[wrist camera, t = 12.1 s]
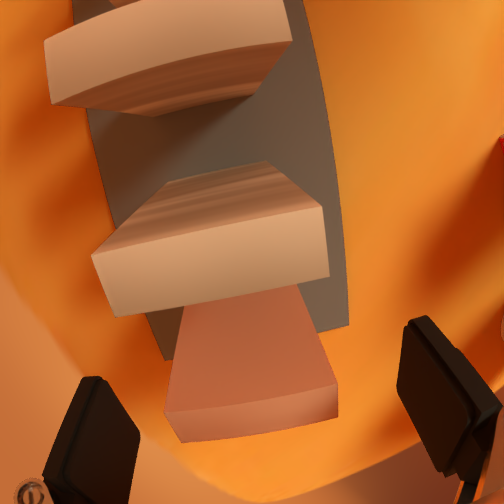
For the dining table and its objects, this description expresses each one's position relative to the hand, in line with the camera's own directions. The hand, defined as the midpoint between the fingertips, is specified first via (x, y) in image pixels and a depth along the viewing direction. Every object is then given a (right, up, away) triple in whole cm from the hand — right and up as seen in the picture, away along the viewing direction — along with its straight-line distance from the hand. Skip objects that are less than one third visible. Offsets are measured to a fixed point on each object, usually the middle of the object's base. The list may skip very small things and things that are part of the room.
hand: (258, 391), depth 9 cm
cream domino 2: (-2, +7, +7) cm, 10 cm away
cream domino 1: (-3, +12, +5) cm, 13 cm away
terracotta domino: (-1, +3, +9) cm, 9 cm away
